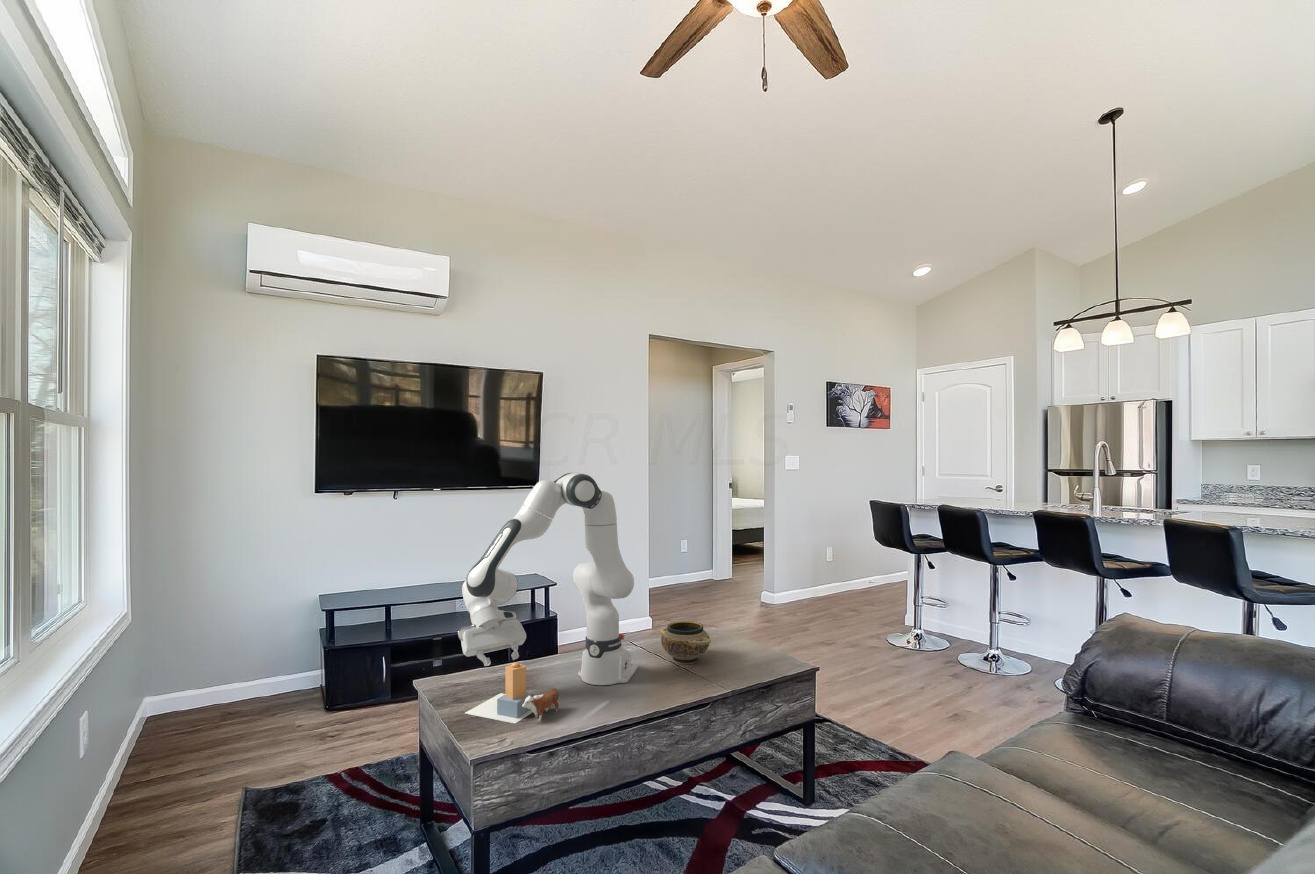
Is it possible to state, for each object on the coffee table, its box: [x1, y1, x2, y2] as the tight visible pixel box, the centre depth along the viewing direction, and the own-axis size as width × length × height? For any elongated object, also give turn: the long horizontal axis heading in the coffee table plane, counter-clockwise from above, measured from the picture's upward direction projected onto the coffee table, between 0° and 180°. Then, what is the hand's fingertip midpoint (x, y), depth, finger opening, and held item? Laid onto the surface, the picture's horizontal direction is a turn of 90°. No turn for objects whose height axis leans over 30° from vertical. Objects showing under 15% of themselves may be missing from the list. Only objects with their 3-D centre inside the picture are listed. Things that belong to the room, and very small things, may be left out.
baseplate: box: [464, 692, 533, 724], centre depth 191 cm, size 17×18×1 cm
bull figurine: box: [522, 688, 559, 721], centre depth 185 cm, size 4×13×8 cm, turn 146°
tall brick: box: [504, 661, 527, 700], centre depth 188 cm, size 4×4×9 cm
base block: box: [497, 691, 534, 718], centre depth 188 cm, size 8×7×4 cm
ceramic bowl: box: [659, 620, 712, 665], centre depth 237 cm, size 24×18×15 cm
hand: (502, 661), depth 194 cm, fingers open, 8 cm apart
